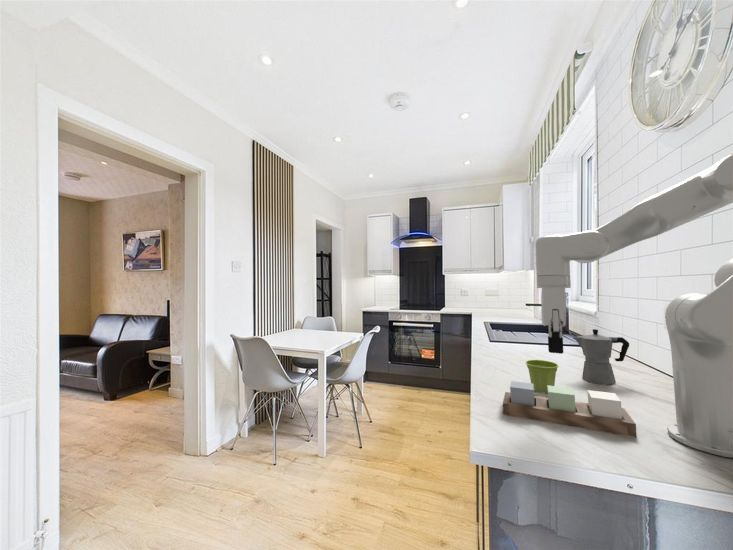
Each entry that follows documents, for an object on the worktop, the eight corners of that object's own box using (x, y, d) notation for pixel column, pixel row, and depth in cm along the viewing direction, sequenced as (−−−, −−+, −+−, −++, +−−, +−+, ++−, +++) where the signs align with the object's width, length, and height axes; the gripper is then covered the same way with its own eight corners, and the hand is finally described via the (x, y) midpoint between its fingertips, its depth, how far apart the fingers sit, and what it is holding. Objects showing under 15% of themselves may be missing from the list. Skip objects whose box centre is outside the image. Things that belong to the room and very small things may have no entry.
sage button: (573, 407, 76) (571, 388, 76) (575, 415, 71) (574, 395, 71) (548, 403, 78) (547, 385, 79) (549, 411, 74) (548, 391, 74)
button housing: (624, 420, 72) (624, 408, 72) (636, 437, 64) (635, 424, 64) (505, 402, 85) (505, 391, 85) (503, 414, 77) (502, 403, 77)
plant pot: (559, 387, 96) (557, 361, 96) (561, 397, 88) (559, 368, 88) (527, 383, 101) (525, 358, 101) (526, 392, 93) (524, 365, 93)
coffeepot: (575, 381, 102) (572, 330, 102) (575, 374, 109) (572, 326, 110) (634, 389, 93) (630, 332, 94) (629, 380, 101) (625, 328, 101)
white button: (616, 413, 71) (615, 393, 72) (622, 423, 67) (621, 401, 67) (588, 409, 74) (587, 390, 74) (592, 418, 69) (591, 397, 70)
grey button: (534, 401, 80) (533, 383, 80) (534, 409, 75) (533, 389, 76) (512, 398, 83) (511, 381, 83) (511, 405, 78) (510, 386, 78)
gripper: (536, 282, 85) (538, 345, 84) (537, 282, 72) (539, 357, 71) (567, 282, 81) (569, 348, 80) (574, 282, 68) (577, 360, 67)
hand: (555, 352), depth 76 cm, fingers closed
